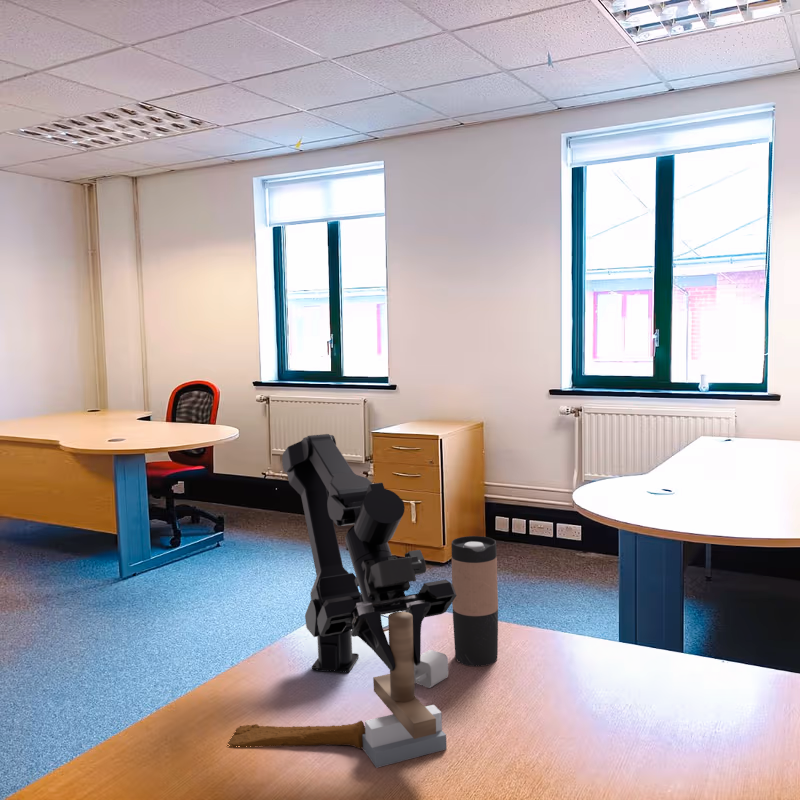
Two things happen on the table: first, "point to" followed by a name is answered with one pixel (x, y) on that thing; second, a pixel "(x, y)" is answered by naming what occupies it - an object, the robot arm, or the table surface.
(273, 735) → the primitive tool
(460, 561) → the travel mug
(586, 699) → the table surface
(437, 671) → the usb wall charger
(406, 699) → the t bar
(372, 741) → the ridge block
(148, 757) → the table surface
